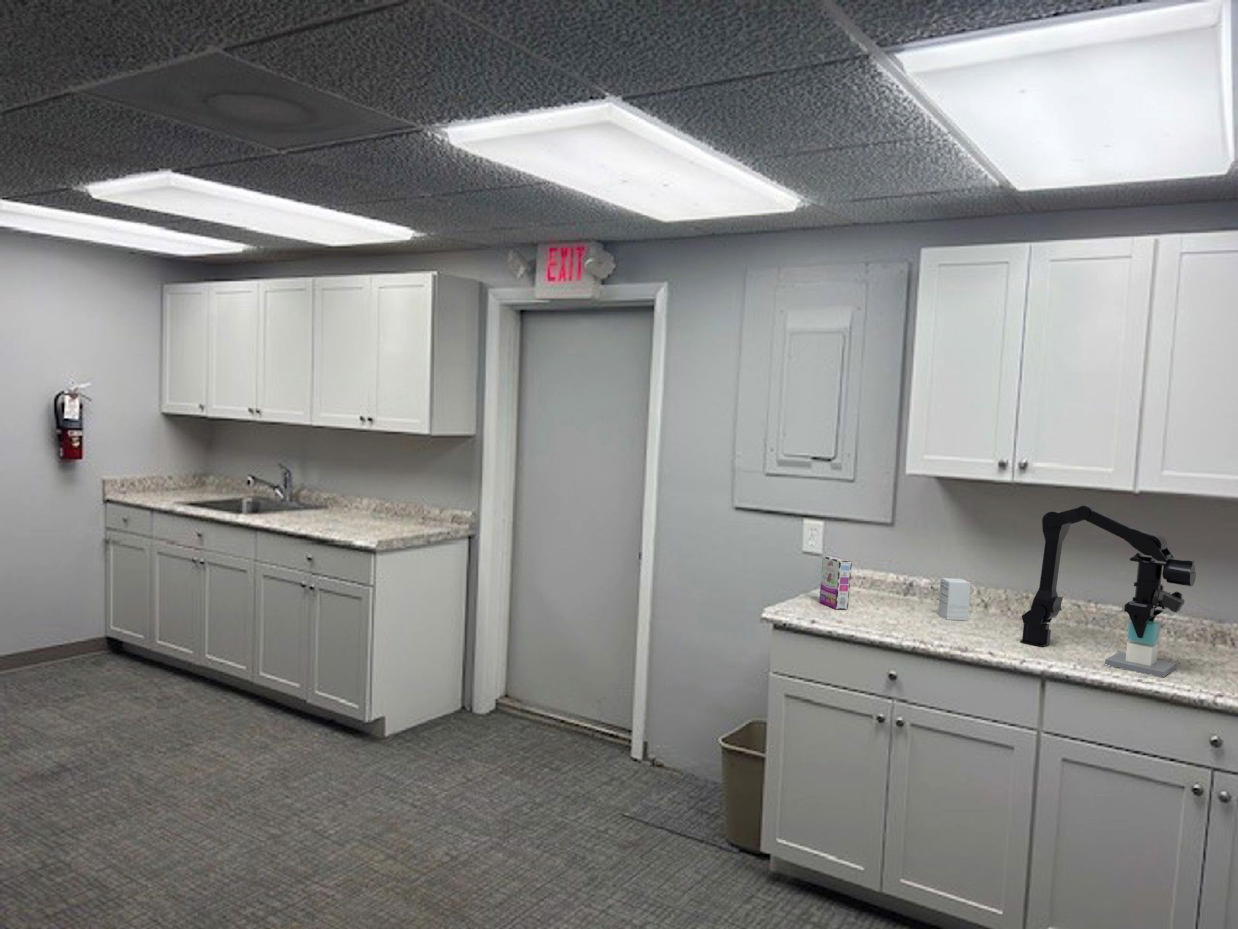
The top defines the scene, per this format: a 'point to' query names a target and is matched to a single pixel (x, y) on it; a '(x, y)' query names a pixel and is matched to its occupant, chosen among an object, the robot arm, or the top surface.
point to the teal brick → (1149, 634)
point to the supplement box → (954, 599)
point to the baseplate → (1141, 665)
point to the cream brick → (1141, 652)
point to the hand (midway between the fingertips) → (1143, 636)
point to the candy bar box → (835, 582)
